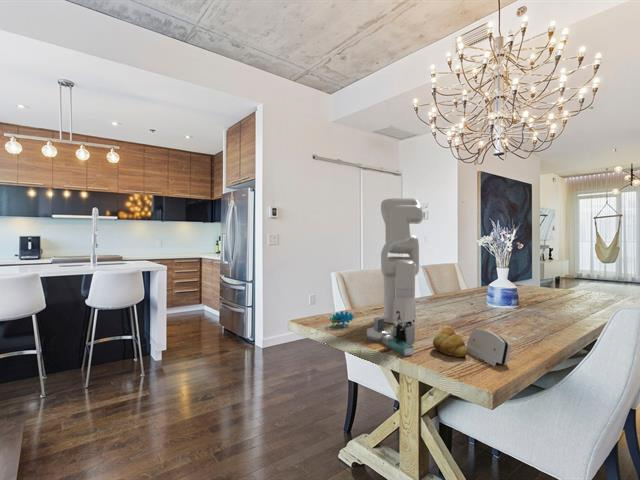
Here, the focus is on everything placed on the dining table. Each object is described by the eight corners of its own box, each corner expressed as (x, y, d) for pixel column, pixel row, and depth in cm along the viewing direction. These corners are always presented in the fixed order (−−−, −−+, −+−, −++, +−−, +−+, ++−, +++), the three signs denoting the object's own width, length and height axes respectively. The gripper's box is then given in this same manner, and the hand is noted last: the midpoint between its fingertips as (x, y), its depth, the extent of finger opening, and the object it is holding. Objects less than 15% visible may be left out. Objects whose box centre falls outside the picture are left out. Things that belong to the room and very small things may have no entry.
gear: (354, 320, 160) (352, 308, 153) (355, 331, 156) (353, 320, 148) (331, 322, 161) (328, 311, 153) (331, 334, 156) (329, 323, 149)
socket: (401, 339, 137) (401, 321, 136) (414, 342, 132) (414, 324, 132) (392, 342, 132) (393, 324, 132) (406, 346, 128) (406, 327, 128)
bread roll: (474, 358, 116) (474, 335, 116) (450, 361, 113) (450, 337, 113) (449, 346, 129) (449, 325, 128) (427, 348, 126) (428, 327, 126)
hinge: (461, 349, 125) (469, 323, 126) (471, 352, 126) (479, 327, 127) (494, 366, 109) (503, 337, 109) (506, 370, 110) (515, 341, 110)
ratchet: (383, 333, 144) (383, 314, 144) (420, 353, 120) (421, 331, 120) (362, 335, 141) (362, 316, 141) (396, 356, 117) (397, 334, 116)
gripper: (408, 289, 141) (407, 332, 141) (384, 293, 129) (384, 340, 128) (424, 291, 135) (424, 336, 135) (401, 296, 123) (401, 345, 123)
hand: (404, 338), depth 132 cm, fingers closed on socket, 6 cm apart
